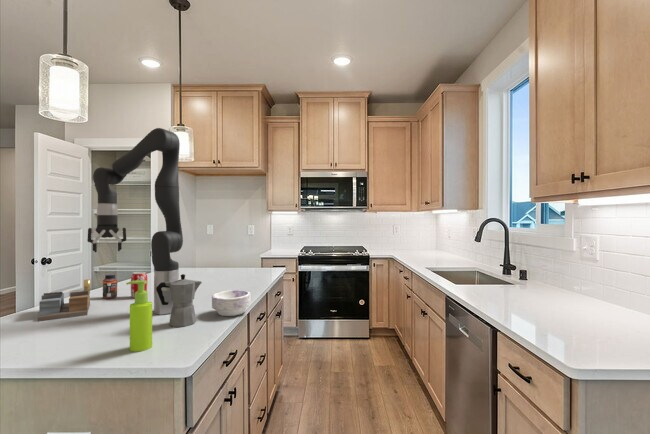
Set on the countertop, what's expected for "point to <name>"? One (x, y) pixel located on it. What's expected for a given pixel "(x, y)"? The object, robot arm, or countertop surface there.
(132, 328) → the soap dispenser
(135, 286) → the soda can
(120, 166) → the robot arm
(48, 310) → the block holder
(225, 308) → the white marbled bowl
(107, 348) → the countertop surface
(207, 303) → the countertop surface
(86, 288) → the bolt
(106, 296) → the supplement bottle
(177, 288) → the coffeepot
